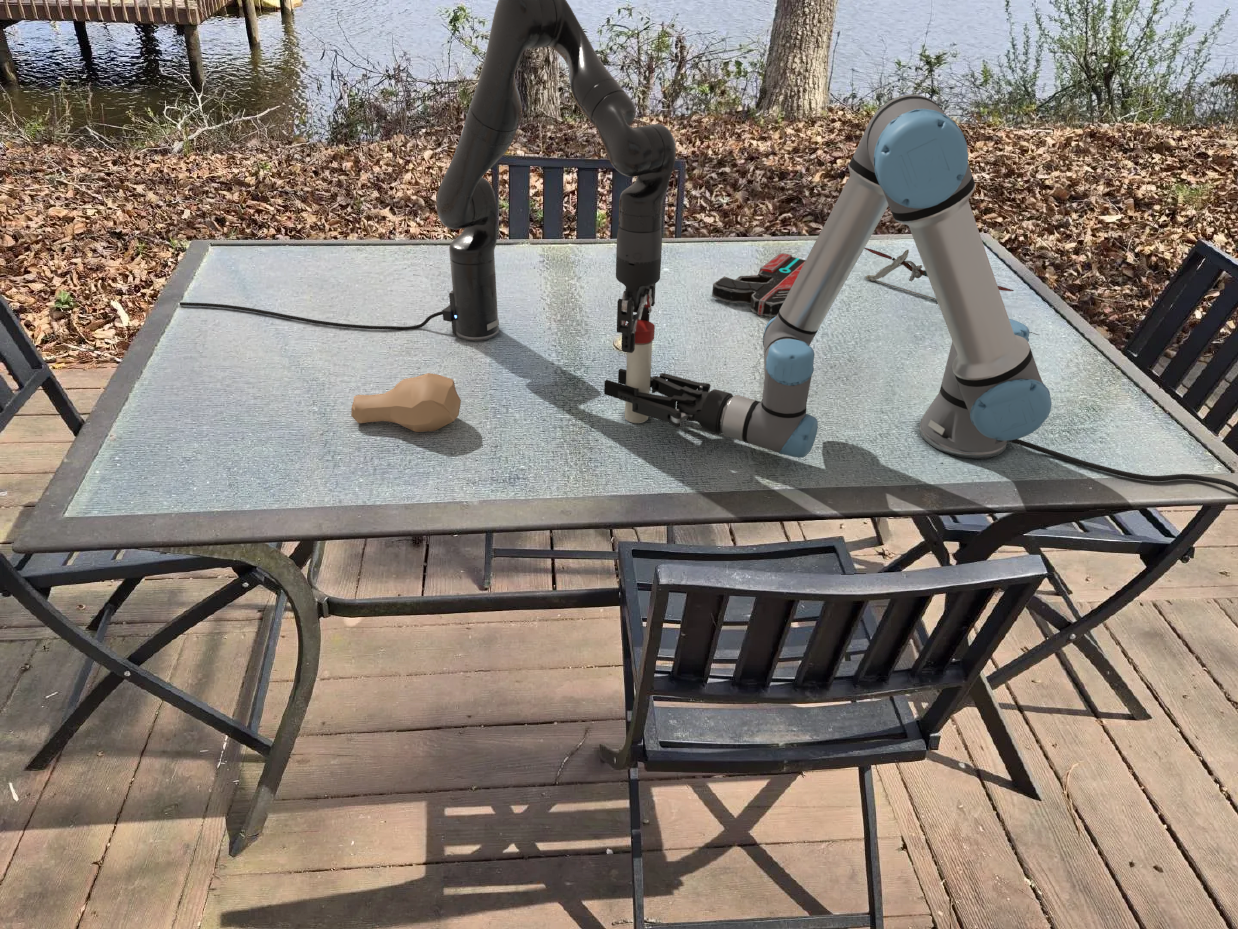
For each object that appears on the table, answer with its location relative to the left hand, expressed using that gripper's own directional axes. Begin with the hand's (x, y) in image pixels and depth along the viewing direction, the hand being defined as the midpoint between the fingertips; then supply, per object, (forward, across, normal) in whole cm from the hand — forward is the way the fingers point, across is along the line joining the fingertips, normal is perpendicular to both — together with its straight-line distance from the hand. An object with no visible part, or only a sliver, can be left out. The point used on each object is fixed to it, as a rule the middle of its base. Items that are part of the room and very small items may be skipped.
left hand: (635, 341), depth 155 cm
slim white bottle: (+16, -1, +1) cm, 16 cm away
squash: (+16, +16, -38) cm, 44 cm away
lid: (-2, -1, 0) cm, 3 cm away
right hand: (+10, -2, -5) cm, 11 cm away
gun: (+16, -71, +12) cm, 74 cm away
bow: (+16, -82, +50) cm, 97 cm away
